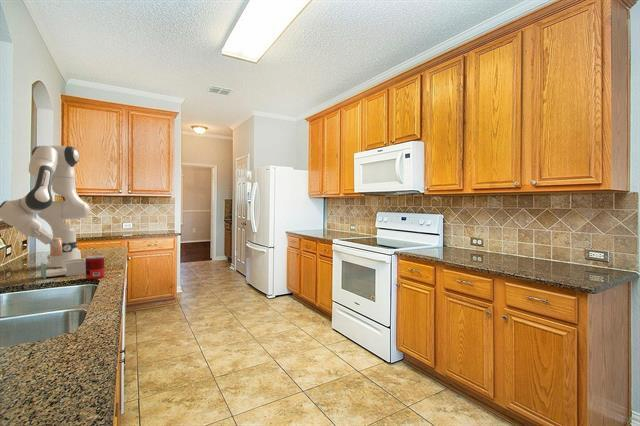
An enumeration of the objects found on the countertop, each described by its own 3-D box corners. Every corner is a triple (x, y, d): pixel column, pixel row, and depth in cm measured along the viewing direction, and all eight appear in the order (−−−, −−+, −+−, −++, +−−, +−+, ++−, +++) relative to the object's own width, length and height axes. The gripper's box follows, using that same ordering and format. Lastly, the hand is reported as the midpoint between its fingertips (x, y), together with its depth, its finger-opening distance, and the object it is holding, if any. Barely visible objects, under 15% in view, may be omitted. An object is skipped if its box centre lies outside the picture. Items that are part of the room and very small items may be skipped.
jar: (49, 255, 170) (49, 238, 169) (61, 254, 173) (60, 237, 173) (51, 256, 167) (50, 239, 166) (63, 255, 170) (62, 238, 170)
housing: (62, 273, 178) (61, 260, 177) (84, 270, 185) (84, 258, 185) (66, 276, 170) (66, 263, 170) (89, 273, 178) (89, 260, 177)
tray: (41, 275, 170) (40, 262, 170) (64, 272, 178) (64, 259, 178) (44, 278, 164) (43, 264, 164) (68, 275, 172) (68, 262, 171)
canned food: (108, 276, 172) (107, 255, 171) (96, 279, 164) (95, 257, 163) (94, 275, 172) (94, 254, 172) (82, 279, 164) (81, 257, 164)
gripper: (37, 225, 157) (64, 243, 164) (38, 222, 172) (62, 239, 179) (25, 235, 154) (52, 253, 161) (26, 231, 170) (51, 248, 176)
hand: (57, 246), depth 170 cm, fingers closed on jar, 5 cm apart
